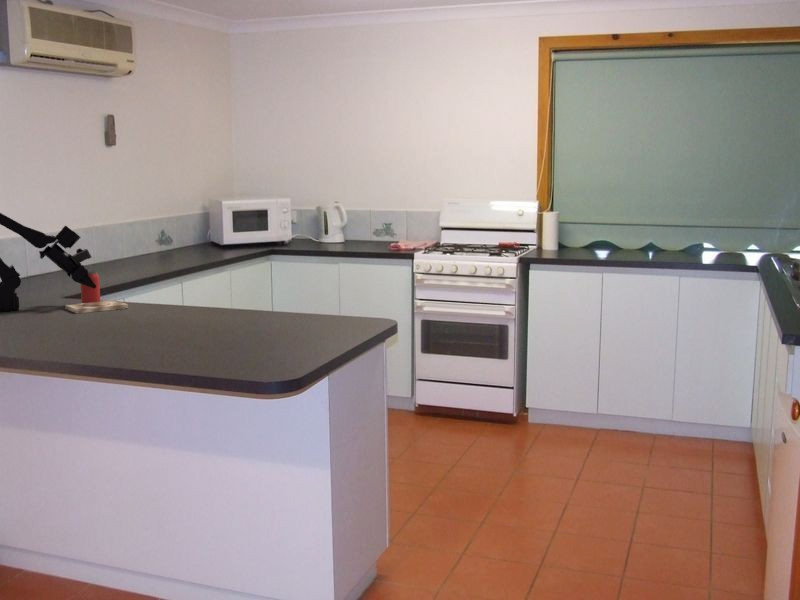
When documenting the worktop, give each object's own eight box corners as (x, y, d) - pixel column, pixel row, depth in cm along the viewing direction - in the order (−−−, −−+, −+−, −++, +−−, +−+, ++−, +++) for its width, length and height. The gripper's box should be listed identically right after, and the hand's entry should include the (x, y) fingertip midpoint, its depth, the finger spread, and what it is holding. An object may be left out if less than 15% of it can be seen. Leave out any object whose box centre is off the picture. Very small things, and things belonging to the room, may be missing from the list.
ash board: (76, 313, 293) (76, 308, 293) (65, 309, 303) (65, 304, 303) (127, 308, 304) (127, 303, 304) (115, 304, 314) (115, 299, 314)
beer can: (77, 304, 313) (76, 272, 311) (91, 302, 318) (90, 271, 317) (90, 306, 310) (88, 273, 308) (104, 303, 315) (102, 271, 314)
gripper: (79, 243, 301) (113, 272, 307) (73, 240, 317) (105, 268, 324) (57, 266, 298) (91, 295, 305) (52, 262, 315) (85, 289, 321)
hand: (94, 286), depth 314 cm, fingers closed on beer can, 7 cm apart
